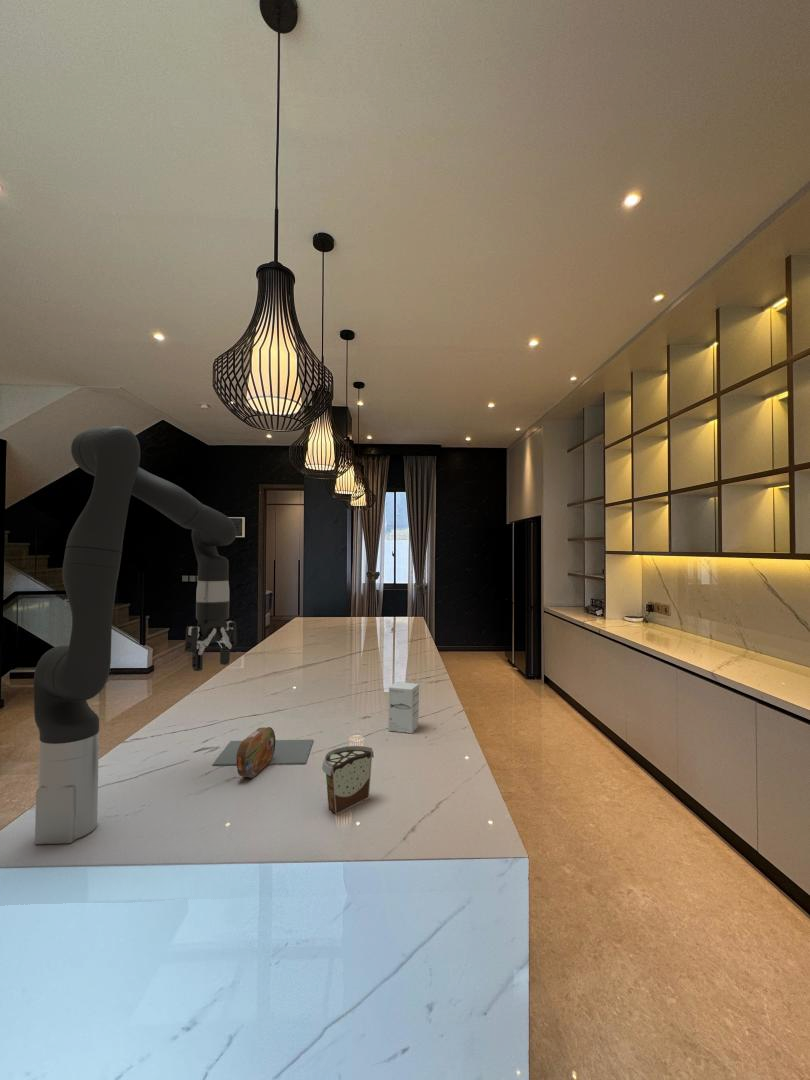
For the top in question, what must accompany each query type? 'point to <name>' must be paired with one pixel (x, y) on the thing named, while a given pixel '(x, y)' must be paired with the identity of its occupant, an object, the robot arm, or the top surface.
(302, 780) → the top surface
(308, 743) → the mat
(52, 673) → the robot arm
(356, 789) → the food container
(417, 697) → the supplement box
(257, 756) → the tin
